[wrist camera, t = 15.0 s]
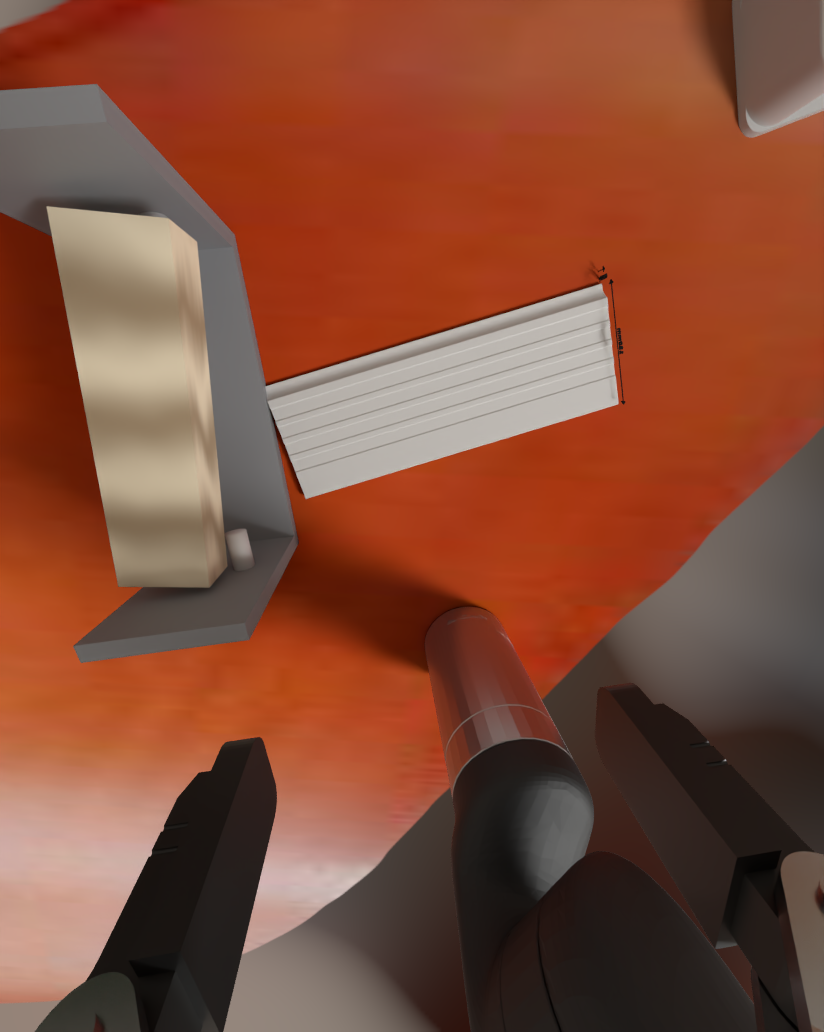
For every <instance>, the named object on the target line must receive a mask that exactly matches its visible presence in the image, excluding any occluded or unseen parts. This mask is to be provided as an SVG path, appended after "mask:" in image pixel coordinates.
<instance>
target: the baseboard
mask: <svg viewBox="0 0 824 1032" xmlns="http://www.w3.org/2000/svg"><path fill="white" fill-rule="evenodd" d="M604 269H605V268H604V266H603V269H602V270H603V272H604ZM600 271H601V270H600ZM598 272H599V271H598ZM603 276H604V277H603ZM602 278H603V279H605V278H607V273H606V274H605V275H602V276H600V277H599V281H601V280H603V279H602ZM612 283H613V281H612V279H611V280H610V283H609V284H611V289H612ZM612 299H613V290H612ZM613 309H614V300H613ZM614 318H615V310H614ZM615 328H616V320H615ZM617 330H619V331H617ZM617 330H616V338H617V332H619V333H618V334H621V333H620V332H621V331H620V328H618V329H617ZM618 336H620V337H619V338H618V339H620V340H617V348H618V341H620V342H619V350H620V351H619V350H618V358H619V353H620V354H621V353H622V354H623V351H621V349H623V346H620V345H622V344H623V343H622V341H621V335H618ZM620 343H621V344H620ZM619 368H620V360H619ZM620 377H621V369H620ZM265 387H266V392H267V402H268V404H269V407H270V409H271V411H272V414H273V416H274V419H275V422H276V425H277V427H278V429H279V431H280V434H281V437H282V440H283V442H284V445H285V447H286V449H287V452H288V454H289V457H290V460H291V462H292V464H293V467H294V469H295V472H296V475H297V478H298V480H299V483H300V485H301V488H302V490H303V493H304V495H305V498H306V499H307V498H310V497H314V496H317V495H320V494H324V493H327V492H330V491H333V490H337V489H340V488H343V487H347V486H350V485H353V484H357V483H360V482H363V481H366V480H370V479H373V478H376V477H380V476H383V475H386V474H390V473H393V472H396V471H399V470H403V469H406V468H409V467H413V466H416V465H419V464H423V463H426V462H429V461H432V460H436V459H439V458H442V457H446V456H449V455H452V454H456V453H459V452H462V451H465V450H469V449H472V448H475V447H479V446H482V445H485V444H489V443H492V442H495V441H498V440H502V439H505V438H508V437H512V436H515V435H518V434H522V433H525V432H528V431H531V430H535V429H538V428H541V427H545V426H548V425H551V424H555V423H558V422H561V421H564V420H568V419H571V418H574V417H578V416H581V415H584V414H588V413H591V412H594V411H597V410H601V409H604V408H607V407H611V406H614V405H617V404H618V394H617V385H616V376H615V372H614V358H613V353H612V339H611V334H610V320H609V315H608V300H607V297H606V296H605V294H604V292H603V289H602V284H599V285H595V286H592V287H589V288H586V289H582V290H579V291H576V292H572V293H569V294H566V295H563V296H559V297H556V298H553V299H550V300H546V301H543V302H540V303H536V304H533V305H530V306H527V307H523V308H520V309H517V310H514V311H510V312H507V313H504V314H500V315H497V316H494V317H491V318H487V319H484V320H481V321H478V322H474V323H471V324H468V325H465V326H461V327H458V328H455V329H451V330H448V331H445V332H442V333H438V334H435V335H432V336H429V337H425V338H422V339H419V340H415V341H412V342H409V343H406V344H402V345H399V346H396V347H393V348H389V349H386V350H383V351H379V352H376V353H373V354H370V355H366V356H363V357H360V358H357V359H353V360H350V361H347V362H343V363H340V364H337V365H334V366H330V367H327V368H324V369H321V370H317V371H314V372H311V373H307V374H304V375H301V376H298V377H294V378H291V379H288V380H285V381H281V382H278V383H275V384H271V385H268V386H265ZM621 387H622V379H621ZM622 397H623V389H622ZM621 402H622V403H623V405H624V403H625V401H624V399H623V401H621Z"/></svg>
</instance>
